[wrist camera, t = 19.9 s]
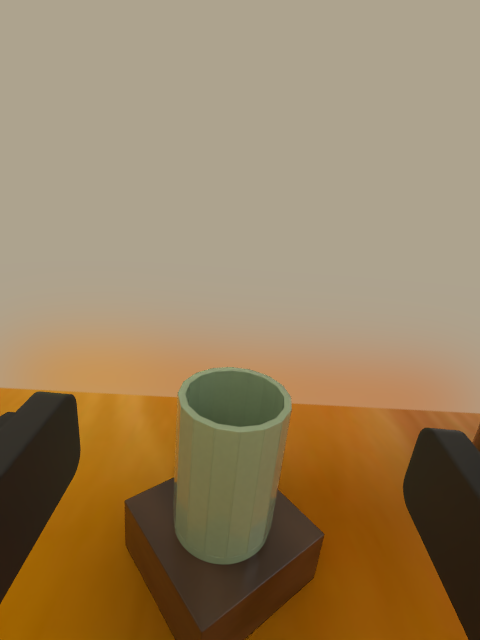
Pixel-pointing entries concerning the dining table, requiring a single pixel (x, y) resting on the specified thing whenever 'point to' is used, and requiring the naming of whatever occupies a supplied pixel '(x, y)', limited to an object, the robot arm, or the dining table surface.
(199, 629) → the block
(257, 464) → the cup
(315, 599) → the dining table surface
